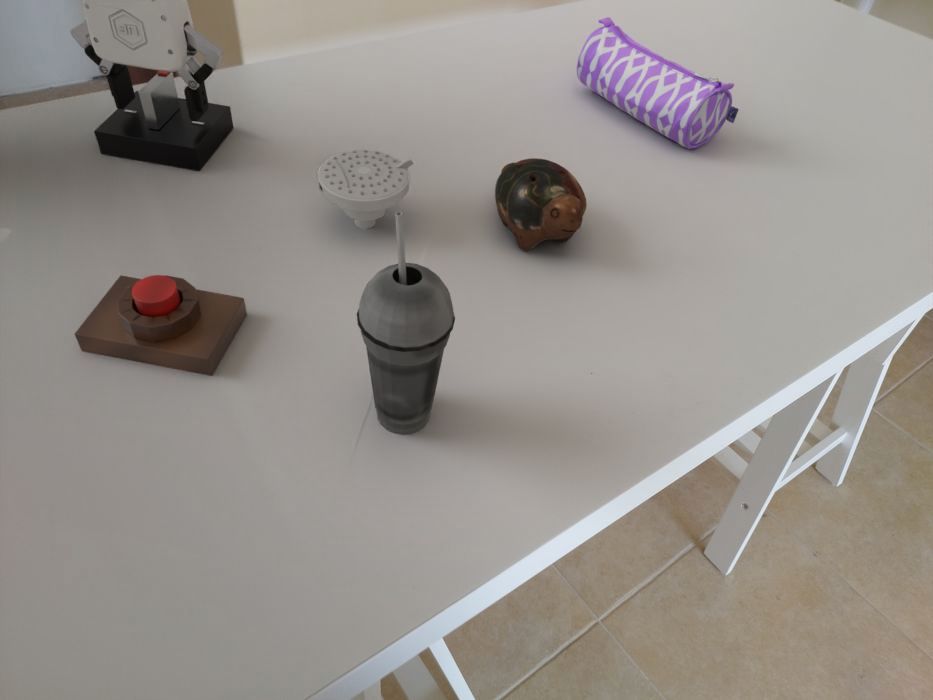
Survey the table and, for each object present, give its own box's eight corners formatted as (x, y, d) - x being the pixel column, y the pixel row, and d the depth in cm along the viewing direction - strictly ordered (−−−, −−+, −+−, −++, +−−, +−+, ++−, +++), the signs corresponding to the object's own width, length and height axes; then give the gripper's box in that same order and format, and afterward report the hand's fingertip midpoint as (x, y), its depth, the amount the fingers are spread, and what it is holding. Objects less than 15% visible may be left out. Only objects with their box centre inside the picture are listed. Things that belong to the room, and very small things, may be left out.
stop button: (129, 313, 63) (123, 298, 62) (148, 286, 66) (144, 271, 65) (168, 321, 63) (164, 306, 62) (187, 293, 66) (183, 278, 64)
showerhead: (427, 184, 74) (329, 198, 71) (424, 241, 79) (332, 256, 76) (399, 135, 80) (308, 146, 77) (398, 192, 85) (312, 204, 82)
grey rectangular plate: (159, 130, 84) (149, 91, 81) (147, 128, 85) (137, 89, 81) (180, 107, 88) (172, 69, 85) (169, 105, 88) (160, 67, 85)
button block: (81, 351, 65) (67, 318, 62) (126, 292, 70) (115, 259, 67) (212, 376, 64) (204, 344, 61) (247, 314, 69) (241, 283, 67)
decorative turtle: (534, 282, 76) (539, 217, 70) (467, 209, 86) (467, 146, 80) (611, 256, 79) (623, 192, 74) (538, 189, 89) (543, 127, 83)
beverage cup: (390, 462, 59) (392, 272, 45) (344, 403, 63) (332, 210, 49) (462, 423, 63) (486, 234, 48) (415, 369, 66) (423, 179, 52)
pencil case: (728, 142, 99) (753, 75, 93) (687, 163, 95) (711, 94, 88) (605, 76, 110) (619, 12, 103) (562, 92, 105) (575, 26, 98)
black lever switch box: (101, 154, 86) (93, 129, 83) (142, 112, 92) (136, 89, 90) (199, 171, 85) (194, 147, 82) (233, 128, 92) (230, 104, 89)
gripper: (19, -53, 71) (74, 113, 84) (191, -26, 70) (221, 138, 83) (62, -76, 76) (108, 83, 89) (223, -52, 75) (246, 106, 88)
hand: (162, 109), depth 86 cm, fingers open, 8 cm apart
